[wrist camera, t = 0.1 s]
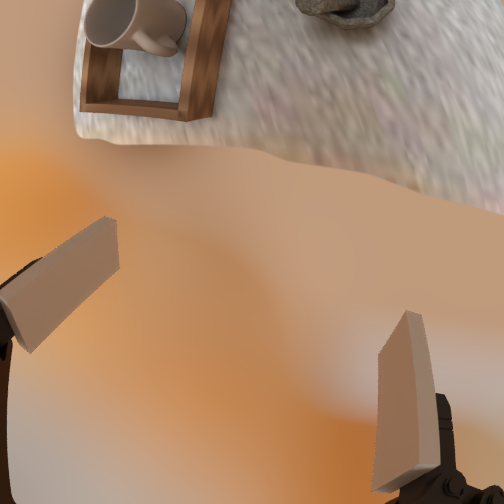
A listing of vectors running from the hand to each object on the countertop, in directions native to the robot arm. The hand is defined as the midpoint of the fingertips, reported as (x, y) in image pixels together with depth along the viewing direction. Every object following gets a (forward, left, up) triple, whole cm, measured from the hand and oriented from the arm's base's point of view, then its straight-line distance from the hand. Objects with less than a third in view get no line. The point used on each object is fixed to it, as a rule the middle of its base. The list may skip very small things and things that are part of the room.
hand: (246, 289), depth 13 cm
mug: (-14, -23, -28) cm, 39 cm away
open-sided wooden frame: (-11, -23, -28) cm, 38 cm away
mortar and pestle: (-20, 0, -28) cm, 35 cm away
